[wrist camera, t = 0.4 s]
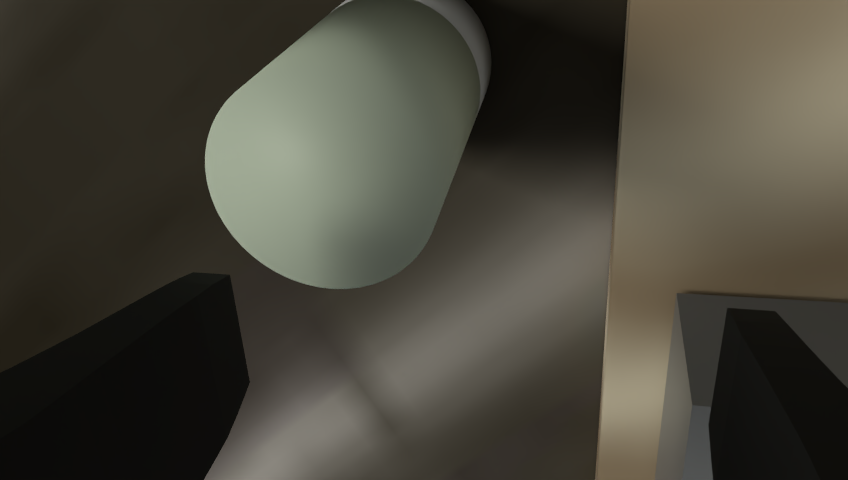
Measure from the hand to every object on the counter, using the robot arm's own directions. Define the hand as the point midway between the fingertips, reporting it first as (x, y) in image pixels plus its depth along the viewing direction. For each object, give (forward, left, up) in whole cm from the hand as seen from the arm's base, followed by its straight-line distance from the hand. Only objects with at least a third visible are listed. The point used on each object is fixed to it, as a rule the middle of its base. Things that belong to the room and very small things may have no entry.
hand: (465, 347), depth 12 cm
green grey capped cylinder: (+2, +3, -9) cm, 10 cm away
